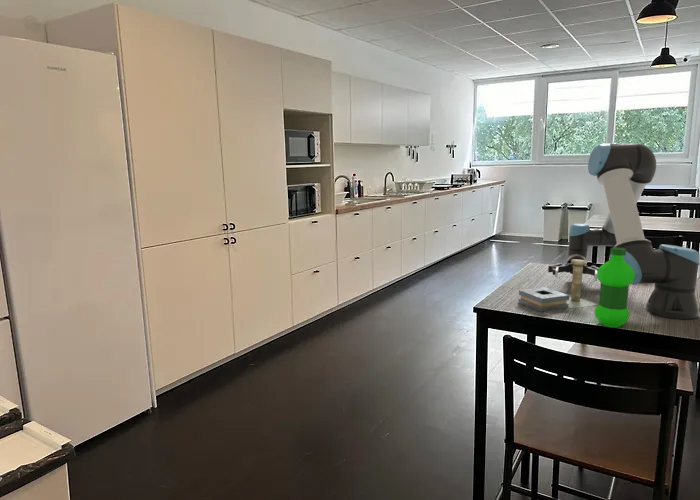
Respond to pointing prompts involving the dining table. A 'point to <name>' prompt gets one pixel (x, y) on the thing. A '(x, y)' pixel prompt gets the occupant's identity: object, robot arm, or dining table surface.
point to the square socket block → (543, 299)
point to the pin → (577, 279)
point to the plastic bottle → (614, 289)
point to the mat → (579, 303)
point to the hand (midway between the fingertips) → (575, 275)
